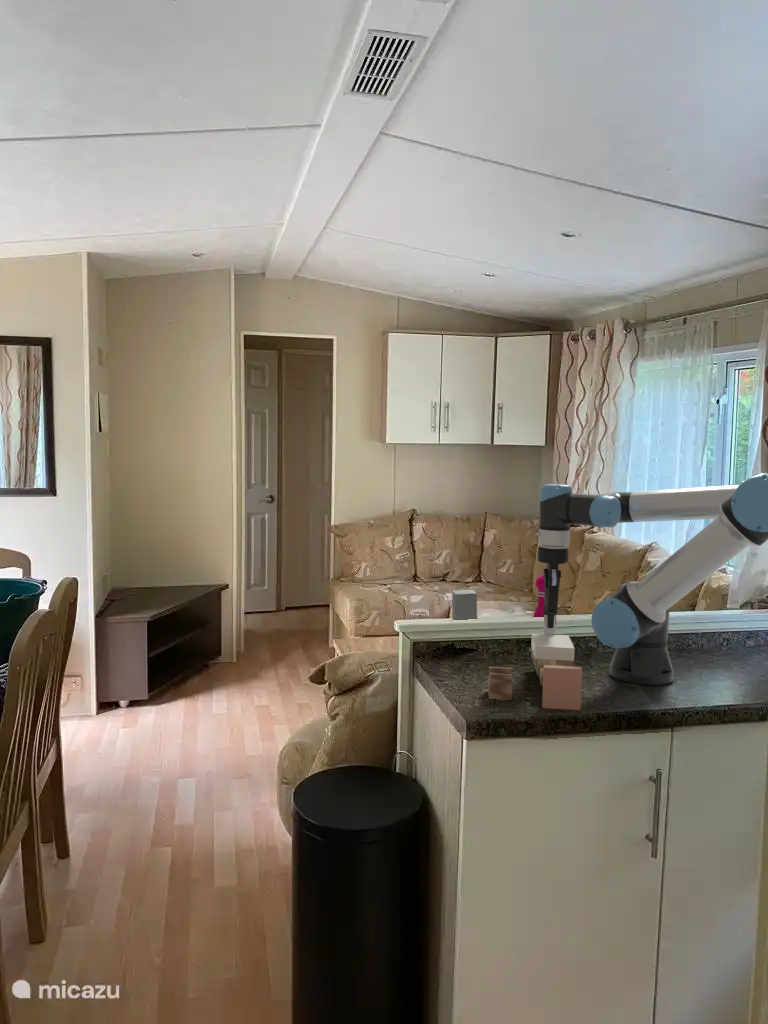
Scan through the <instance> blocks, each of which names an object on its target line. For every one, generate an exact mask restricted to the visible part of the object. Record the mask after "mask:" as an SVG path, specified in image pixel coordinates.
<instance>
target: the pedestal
mask: <svg viewBox="0 0 768 1024" xmlns="http://www.w3.org/2000/svg"><path fill="white" fill-rule="evenodd" d="M513 677H514V675H513V674H512V668H511V667H501V666H500V667H499V666H489V667H488V682H487V683H488V688H487V689H488V690H487V692H488V700H489V699H497V700H496V701H508V700H512V699H513V679H514V678H513ZM512 701H513V700H512Z"/></svg>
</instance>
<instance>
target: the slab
mask: <svg viewBox="0 0 768 1024" xmlns="http://www.w3.org/2000/svg"><path fill="white" fill-rule="evenodd" d="M530 641H531V643H530V645H531V646H532V650H533V654H534V657H535V659H546V660H565V661H573V662H574V661H575V649H576V648H575V647H574V644H573V642H572V640H571V638H570V636H569V635H568V634H567V635H565V634H555V635H550V634H533V633H531V639H530Z"/></svg>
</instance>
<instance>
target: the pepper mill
mask: <svg viewBox="0 0 768 1024" xmlns="http://www.w3.org/2000/svg"><path fill="white" fill-rule="evenodd" d="M542 573H543V574H542V575H539V576H538V577H537V578H536V580H535V586H536V588H537V589H538V590H536V592H537V593H536V596H537V606H536V609H535V611H534V612H533V616H532V618H533V617H544V616H545V615H543V612H545V611H544V610H545V609H544V601H545V585H544V571H542Z"/></svg>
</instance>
